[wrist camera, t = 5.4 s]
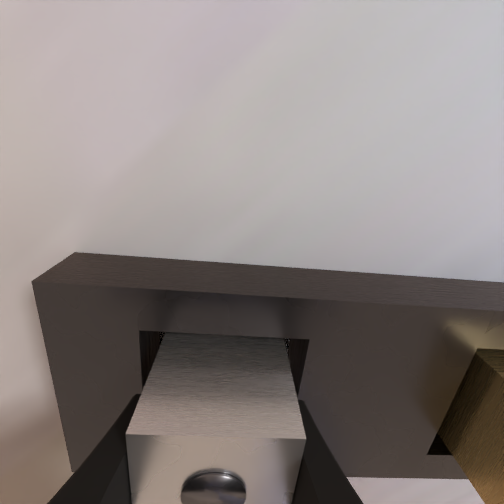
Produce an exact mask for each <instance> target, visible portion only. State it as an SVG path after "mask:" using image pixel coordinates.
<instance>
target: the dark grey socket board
mask: <svg viewBox="0 0 504 504" xmlns="http://www.w3.org/2000/svg"><path fill="white" fill-rule="evenodd" d="M32 285H33V290H34V295H35V300H36V304H37V309H38V314H39V318H40V323H41V328H42V333H43V337H44V342H45V347H46V351H47V356H48V361H49V365H50V370H51V375H52V380H53V384H54V389H55V394H56V398H57V403H58V408H59V413H60V417H61V422H62V427H63V431H64V436H65V441H66V446H67V450H68V455H69V460H70V464H71V469H72V472H75V471H76V470H77V469H78V468H79V467H80V466H81V464H82V463H83V462H84V461H85V460H86V458H87V457H88V456H89V455H90V453H91V452H92V451H93V450H94V448H95V447H96V446H97V444H98V443H99V442H100V441H101V439H102V438H103V437H104V436H105V434H106V433H107V432H108V430H109V429H110V428H111V426H112V425H113V424H114V423H115V421H116V420H117V418H118V417H119V416H120V414H121V413H122V412H123V410H124V409H125V407H126V406H127V404H128V403H129V402H130V400H131V399H132V397H133V396H134V395H135V394H141V393H142V391H143V388H144V386H145V383H146V381H147V378H148V376H149V373H150V371H151V368H152V366H153V363H154V361H155V358H156V355H157V353H158V350H159V348H160V336H159V331H160V332H179V333H198V334H217V335H236V336H255V337H274V338H290V344H289V350H288V359H289V364H290V368H291V373H292V377H293V382H294V386H295V391H296V395H297V399H298V400H303V401H304V402H305V404H306V406H307V408H308V410H309V412H310V414H311V416H312V418H313V420H314V422H315V424H316V426H317V428H318V430H319V431H320V433H321V435H322V437H323V439H324V441H325V442H326V444H327V446H328V448H329V449H330V451H331V453H332V454H333V456H334V458H335V459H336V461H337V463H338V464H339V466H340V468H341V470H342V471H343V473H344V474H345V476H346V477H376V478H432V479H468V478H467V476H466V475H465V473H464V472H463V470H462V469H461V467H460V466H459V464H458V463H457V461H456V460H455V458H454V457H453V455H452V454H451V452H450V451H449V449H448V448H447V446H446V445H445V443H444V442H443V441H442V439H441V438H440V436H439V435H438V433H437V432H438V430H439V428H440V425H441V423H442V421H443V419H444V417H445V415H446V413H447V411H448V409H449V407H450V405H451V402H452V400H453V398H454V396H455V394H456V392H457V390H458V388H459V386H460V384H461V382H462V379H463V377H464V375H465V373H466V371H467V369H468V367H469V365H470V363H471V361H472V359H473V356H474V354H475V352H476V350H477V348H482V349H501V350H504V283H501V282H487V281H473V280H459V279H444V278H430V277H416V276H402V275H388V274H374V273H360V272H346V271H331V270H317V269H303V268H289V267H275V266H261V265H247V264H233V263H218V262H204V261H190V260H176V259H162V258H148V257H134V256H120V255H105V254H91V253H77V252H75V253H73V254H72V255H70V256H69V257H67V258H66V259H64V260H63V261H61V262H60V263H58V264H57V265H55V266H54V267H52V268H51V269H49V270H48V271H46V272H45V273H43V274H42V275H40V276H39V277H37V278H36V279H34V280H33V281H32Z"/></svg>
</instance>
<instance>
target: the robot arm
mask: <svg viewBox="0 0 504 504" xmlns="http://www.w3.org/2000/svg"><path fill="white" fill-rule="evenodd" d="M140 396H141V394H135V395H134V396H133V397H132V399H131V400H130V402H129V403H128V404H127V406H126V407H125V409H124V410H123V412H122V413H121V414H120V416H119V417H118V418H117V420H116V421H115V423H114V424H113V425H112V426H111V428H110V429H109V430H108V432H107V433H106V434H105V436H104V437H103V438H102V439H101V441H100V442H99V443H98V444H97V446H96V447H95V448H94V450H93V451H92V452H91V453H90V455H89V456H88V457H87V458H86V460H85V461H84V462H83V463H82V464H81V466H80V467H79V468H78V469H77V470H76V471H75V473H74V474H73V475H72V476H71V477H70V478H69V480H68V481H67V482H66V483H65V484H64V485H63V486H62V488H61V489H60V490H59V491H58V492H57V493H56V495H55V496H54V497H53V498H52V499H51V500H50V501H49V502H48V503H47V504H132V498H131V488H130V477H129V466H128V456H127V445H126V432H127V429H128V426H129V424H130V421H131V419H132V416H133V414H134V411H135V409H136V406H137V404H138V401H139V399H140ZM298 404H299V408H300V413H301V417H302V422H303V426H304V431H305V435H306V443H305V447H304V451H303V456H302V460H301V464H300V469H299V473H298V477H297V481H296V486H295V490H294V494H293V499H292V503H291V504H363V502H362V501H361V499H360V498H359V496H358V495H357V493H356V492H355V490H354V489H353V487H352V486H351V484H350V482H349V481H348V479H347V478H346V476H345V474H344V473H343V471H342V470H341V468H340V466H339V464H338V463H337V461H336V459H335V458H334V456H333V454H332V453H331V451H330V449H329V448H328V446H327V444H326V442H325V441H324V439H323V437H322V435H321V433H320V431H319V430H318V428H317V426H316V424H315V422H314V420H313V418H312V416H311V414H310V412H309V410H308V408H307V406H306V404H305V402H304V401H303V400H298Z"/></svg>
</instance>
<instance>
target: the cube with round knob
mask: <svg viewBox="0 0 504 504" xmlns="http://www.w3.org/2000/svg"><path fill="white" fill-rule="evenodd" d="M305 443H306V435H305V431H304V426H303V422H302V417H301V413H300V408H299V404H298V399H297V395H296V391H295V386H294V382H293V377H292V373H291V368H290V364H289V359H288V355H287V350H286V346H285V342H284V338H274V337H255V336H236V335H217V334H198V333H179V332H166V333H165V335H164V338H163V340H162V343H161V345H160V348H159V350H158V353H157V355H156V358H155V361H154V363H153V366H152V368H151V371H150V373H149V376H148V378H147V381H146V383H145V386H144V388H143V391H142V393H141V396H140V399H139V401H138V404H137V406H136V409H135V411H134V414H133V416H132V419H131V421H130V424H129V426H128V429H127V432H126V445H127V456H128V466H129V477H130V488H131V498H132V504H291V503H292V499H293V494H294V490H295V486H296V481H297V477H298V473H299V469H300V464H301V460H302V456H303V451H304V447H305Z"/></svg>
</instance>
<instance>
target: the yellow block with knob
mask: <svg viewBox="0 0 504 504" xmlns="http://www.w3.org/2000/svg"><path fill="white" fill-rule="evenodd" d="M437 433H438V435H439V436H440V438H441V439H442V441H443V442H444V443H445V445H446V446H447V448H448V449H449V451H450V452H451V454H452V455H453V457H454V458H455V460H456V461H457V463H458V464H459V466H460V467H461V469H462V470H463V472H464V473H465V475H466V476H467V478H468V479H469V480H470V482H471V483H472V485H473V486H474V488H475V489H476V491H477V492H478V494H479V495H480V497H481V498H482V500H483V501H484V503H485V504H504V350H501V349H482V348H477V350H476V352H475V354H474V356H473V359H472V361H471V363H470V365H469V367H468V369H467V371H466V373H465V375H464V377H463V379H462V382H461V384H460V386H459V388H458V390H457V392H456V394H455V396H454V398H453V400H452V402H451V405H450V407H449V409H448V411H447V413H446V415H445V417H444V419H443V421H442V423H441V425H440V428H439V430H438V432H437Z"/></svg>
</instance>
